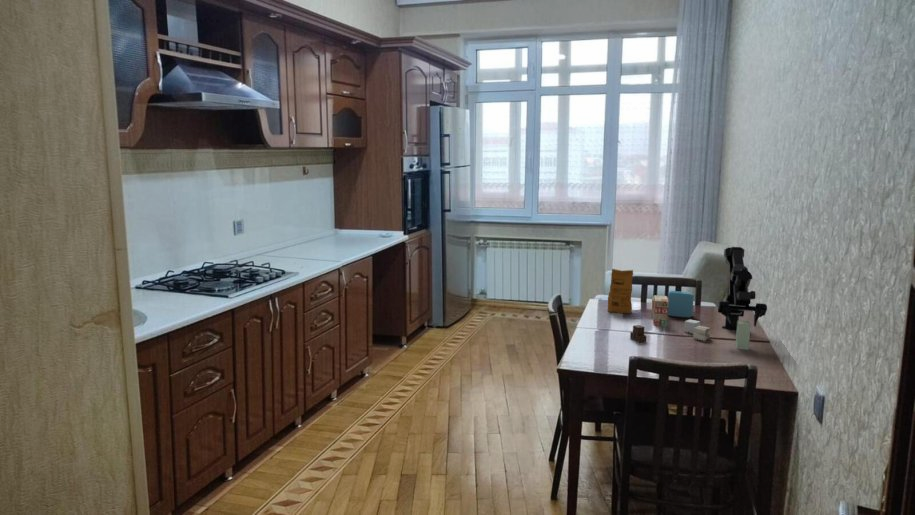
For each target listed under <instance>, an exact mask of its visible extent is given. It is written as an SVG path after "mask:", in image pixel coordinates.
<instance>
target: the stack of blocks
mask: <svg viewBox="0 0 915 515" xmlns="http://www.w3.org/2000/svg"><path fill="white" fill-rule="evenodd" d="M668 305H669V301H668V295H655V294H654V295H653V297H651V319H652V323H653V326H658V327H659V326H661V327H668V317H669V315H668Z"/></svg>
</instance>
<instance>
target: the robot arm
mask: <svg viewBox="0 0 915 515" xmlns="http://www.w3.org/2000/svg"><path fill="white" fill-rule="evenodd" d="M723 250H724V251H723V257H724V259H725V263H726V265H727V266H728V295H727V297H726V298H725V300H720V301H719V302H718V306H717V313H719V314H721V315H723V316H724V317H725V320H724V321H725V322H724V325H722V326H721V328H723V329H727V330H728V329H729V330H733V331H737V321H740V320H739V319H740V317H744V316H745V312H748V311H749V312H754V315H753V326H754V327H756V326H757V323H758V319H759V318H762V317H763V316H765V315H766V313H767V310H768V305H767V304H766V303H761V302H757V303H756V304H755V306H753V305H751V304H752V303H751V300H755V299H756V298H757V297H756V291H754V290H751V291H749V287H750V285H751V281H752V280H753V275H752V273H751V272H750V271H749V268H748V267H746V266H745V263H744V258H745V248H743V247H741V246H731V247H726V248H725V249H723Z"/></svg>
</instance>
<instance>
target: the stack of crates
mask: <svg viewBox="0 0 915 515" xmlns="http://www.w3.org/2000/svg"><path fill="white" fill-rule="evenodd" d="M629 337H630V340H633V341H635V342H637V343H646V342H647V335H646V334H645V326H643V325H641V324H636V325H633V326H632V331H631V332H630V334H629Z"/></svg>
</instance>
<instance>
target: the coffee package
mask: <svg viewBox="0 0 915 515" xmlns="http://www.w3.org/2000/svg"><path fill="white" fill-rule="evenodd" d="M610 276H611V277H610V278H611V279H610V285H609V293H608V296H607V312H608V311H610V312H609V313H618V314H631V312H632V311H633V306H632V293H633V277H634V270H633V269H628V270H620V269H615V268H612V270H611V274H610Z"/></svg>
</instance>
